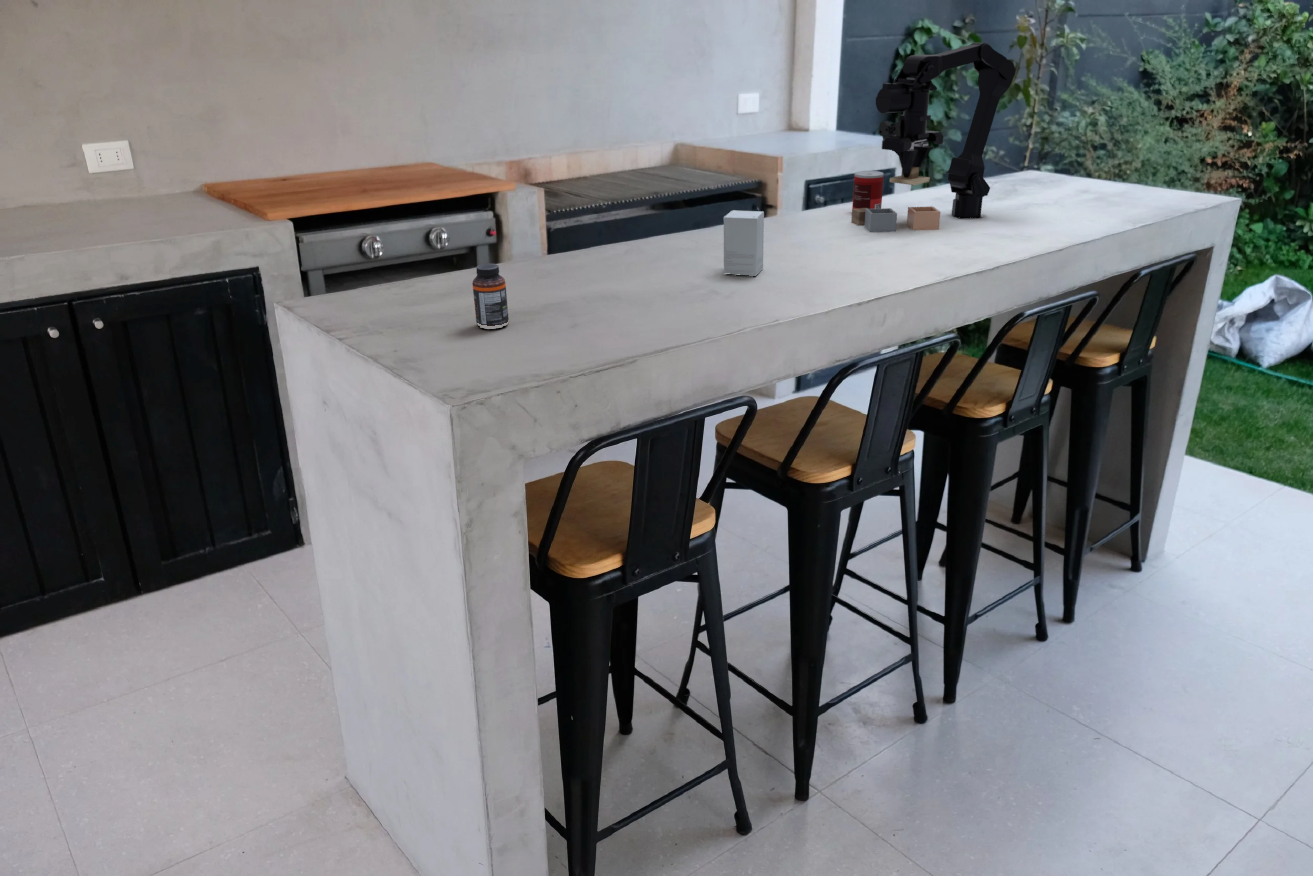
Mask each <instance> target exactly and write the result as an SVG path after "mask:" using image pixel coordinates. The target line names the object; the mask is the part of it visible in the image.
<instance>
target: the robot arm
mask: <svg viewBox="0 0 1313 876" xmlns="http://www.w3.org/2000/svg"><path fill="white" fill-rule="evenodd" d="M969 64H972V67H973V69H974V71H976V72H977V73H978V78H977V86H978V91H979V97H978V99H977V103H976V107H975V109H974V110H975V111H974V113H973V117H972V120H971V124H970V127H969V131H968V133H967V137H966V140H965V144H964V147H963V149H962V152H961V153H960V155H958V157H955V156H953V157H952V159H951V161H950V166H949V168H948V170H947V172H946V173H947V174H948V175H947V181H948V182H949V186H950V191H951V193H952V194H953V193H955V195H954V196H955V197H954V199H952V207H951V215H952V216H953V217H955V218H956V219H959V220H963V219H964V220H965V219H966V220H967V219H983V217H982V216H981V214H982V209H983V208H982V207H983V199H984V197H987V196H989V193H990V190H991V186H989V184H988V182H987V181H986V179H985V178H984V174H985V164H984V158H983V154H984V152H985V147H986V145H987V141H988V138H989V134H990V132H991V129H992V124H993V121H994V118H995V115H996V113H997V108H998V105H999V102H1000V99H1001V98H1002V97H1003V95H1004V94H1006V92H1007V91H1008V90H1009V89H1010V87H1011V85H1012V82H1013V80H1014V78H1015V75H1016V71H1017V70H1016V69H1017V68H1016V66H1015V64H1014V62H1013V61H1012V60H1011V59H1008V58H1007V57H1006V56H1004V55H1003V54H1001V53H1000V52H998V51H997V50H995V49H993V47H992V46H991V45H990V44H988V43H987V42H972V43H970V44H968V45H963V46H961V47H960V46H959V47H957V48H953V49H951V50H946V51H943V52H940V53H935V54H913V55H912V54H911V55H910V56H907V57H906V58H905V61H904V63H903V66H902V67H901V69H900V70H899V72H898V74H897V75H896V76H895V78H894V80H893V82H892V83H890V82H883V83H882V88H881V89H879V91H878V93H877V95H876V97H875V107H876V110H878V112H879V113H880V114H892V113H893V114H894V113H903V114H900V115H899V116H898V118H897V120H898V121H896V122H893V123H891V122H890V121H889V120H885V121H882V122H879V124H878V131H877V134H878V135H879V136H881V137H882V140H881V150H886V151H892V152H894V153H895V154H896V155H897V156H898V159H899V162H900V166H901V172H902V171H903V175H904V177H909V174H910V172H911V169H912V167H919V170H920V168H921V167H922V165H923V164H924V162H925V160H926V158H927V157H928V155H929V154H930V152H931V150H933V149H934V146H932V145H929V143H934V144H935V145H941V144H943V143H944V135H943V133H942V132H941V131H938V130H936V131H935V130H927V124H928V120H931V118H932V117H931V116H932V115H931V114H929V113H928V112H929V111H928V110H929V104H930V102H929V100H930V92H933V91H937V90H938V87H937V86H936V85H935V84H934V82H933V80H934V79H936V78H938V77H940V75H941V74H942V73H943V72H945V71H948V70H952V69H956V68H959V67H962V66H965V65H969Z"/></svg>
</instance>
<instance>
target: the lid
mask: <svg viewBox="0 0 1313 876" xmlns="http://www.w3.org/2000/svg"><path fill="white" fill-rule="evenodd" d="M919 174H920V169H919V167H912V169H911V172H910V174H909V177H904V175H903V171H902V170H901V175H897V176H893V177H890V178H889V183H892V184H893V183H895V184H903V185H909V186H917V185H920V184H925V183H929V182H930V177H929V176H922V175H920V176H919Z"/></svg>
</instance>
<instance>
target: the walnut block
mask: <svg viewBox="0 0 1313 876" xmlns="http://www.w3.org/2000/svg"><path fill="white" fill-rule="evenodd" d="M866 209H868V208H858V209H852V208H851V220H850V222H851V223H852V224H854V225H856V226H864V224H865V210H866Z"/></svg>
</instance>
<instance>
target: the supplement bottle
mask: <svg viewBox="0 0 1313 876" xmlns="http://www.w3.org/2000/svg"><path fill="white" fill-rule="evenodd" d="M499 268H500V267H499V265H498V264H496V263H482V264H479V265H477V266H476V269H475V270H476V276H475V277H474V278H473V280H472V291H473V292H472V293H473V294H472V295H473V301H474V312H475V322H476V324H477V323H479V324H481V325H487V326H495V325H502V324H504V323H507V322H508V320H510V319H509V318H510V317H509V309H508V307H509V306H508V298H507V286H506V285H507V284H506V280H505V278H504V277H503V276H502V275H500V269H499Z"/></svg>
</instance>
